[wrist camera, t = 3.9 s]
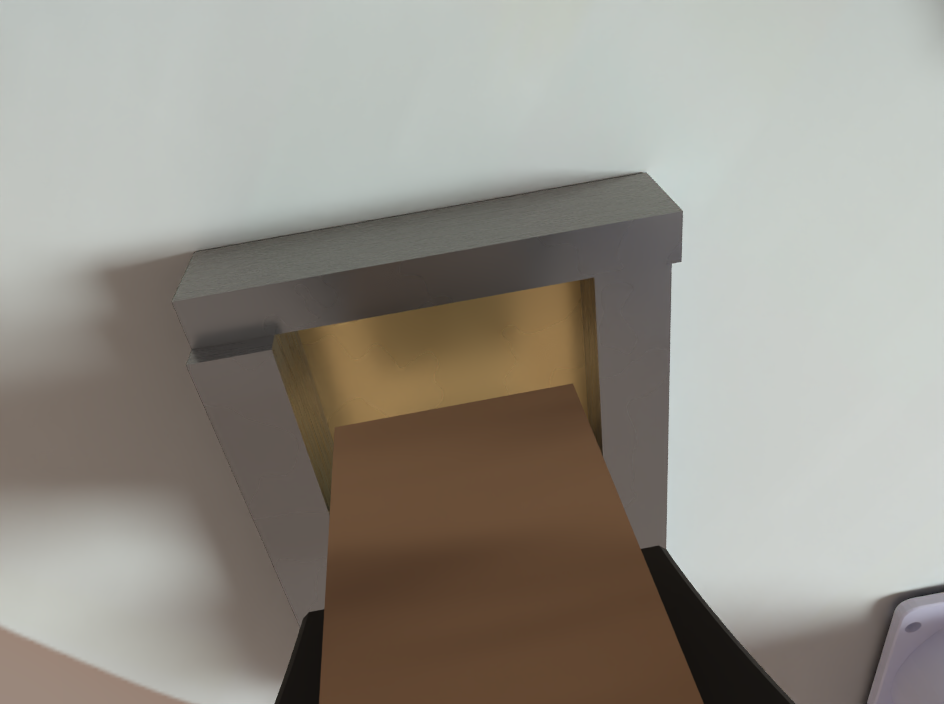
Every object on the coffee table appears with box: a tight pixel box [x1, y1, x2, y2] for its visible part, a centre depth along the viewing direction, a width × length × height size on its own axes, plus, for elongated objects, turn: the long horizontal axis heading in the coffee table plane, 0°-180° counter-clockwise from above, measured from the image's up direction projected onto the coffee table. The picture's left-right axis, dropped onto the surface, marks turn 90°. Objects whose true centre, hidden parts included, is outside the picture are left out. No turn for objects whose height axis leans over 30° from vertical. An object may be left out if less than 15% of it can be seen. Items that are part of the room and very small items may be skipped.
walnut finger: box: [319, 384, 704, 704], centre depth 11 cm, size 5×4×6 cm
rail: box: [172, 173, 683, 627], centre depth 16 cm, size 15×9×6 cm, turn 8°
